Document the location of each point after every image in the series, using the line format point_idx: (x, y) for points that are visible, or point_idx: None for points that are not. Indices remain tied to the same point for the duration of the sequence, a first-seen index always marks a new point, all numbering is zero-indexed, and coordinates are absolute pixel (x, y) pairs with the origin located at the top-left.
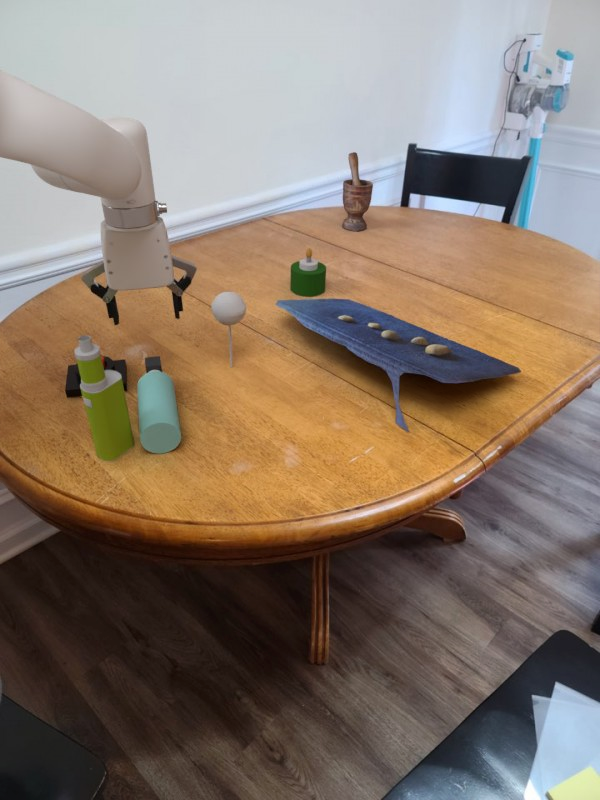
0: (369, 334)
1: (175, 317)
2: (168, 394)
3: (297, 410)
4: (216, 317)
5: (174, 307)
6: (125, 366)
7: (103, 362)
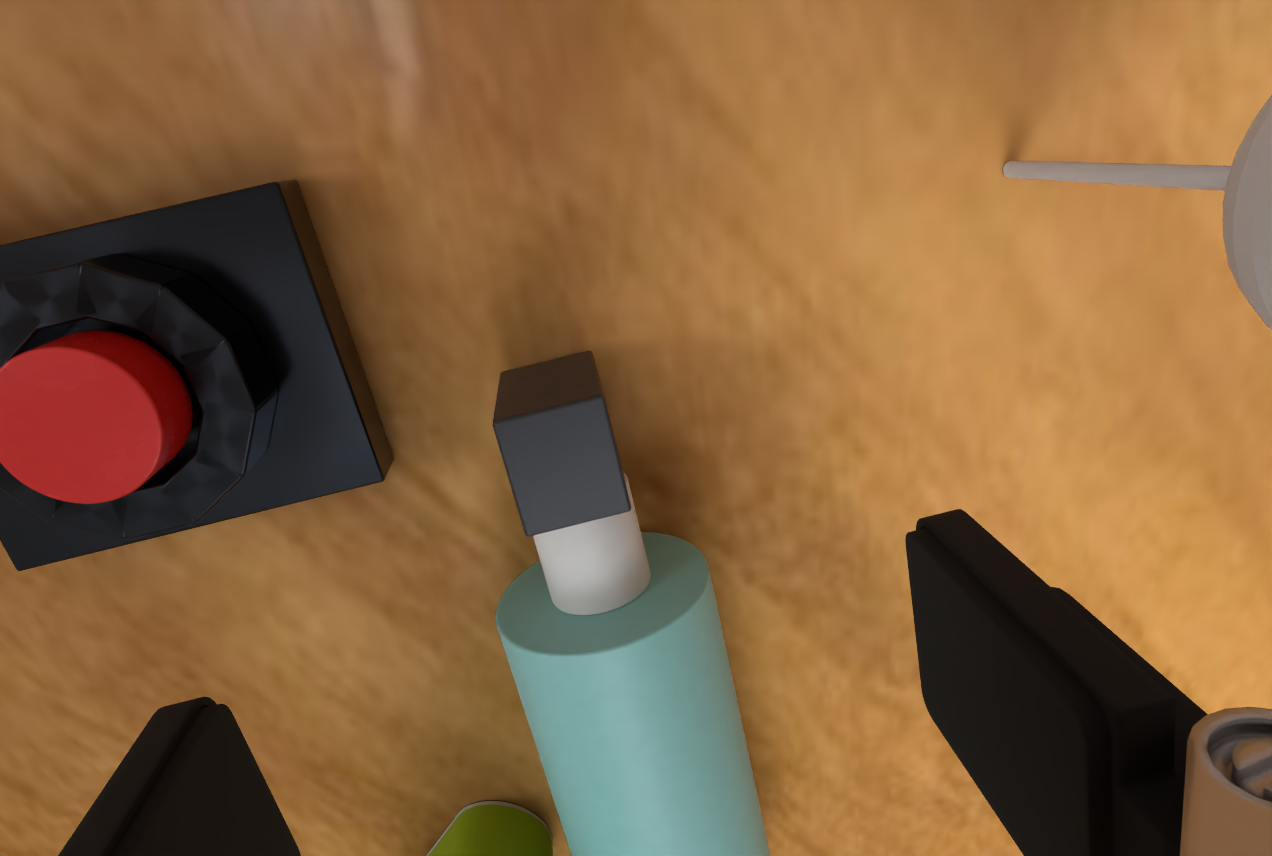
0: None
1: (933, 718)
2: (726, 801)
3: (1268, 572)
4: (1266, 318)
5: (1006, 822)
6: (314, 284)
7: (173, 432)
